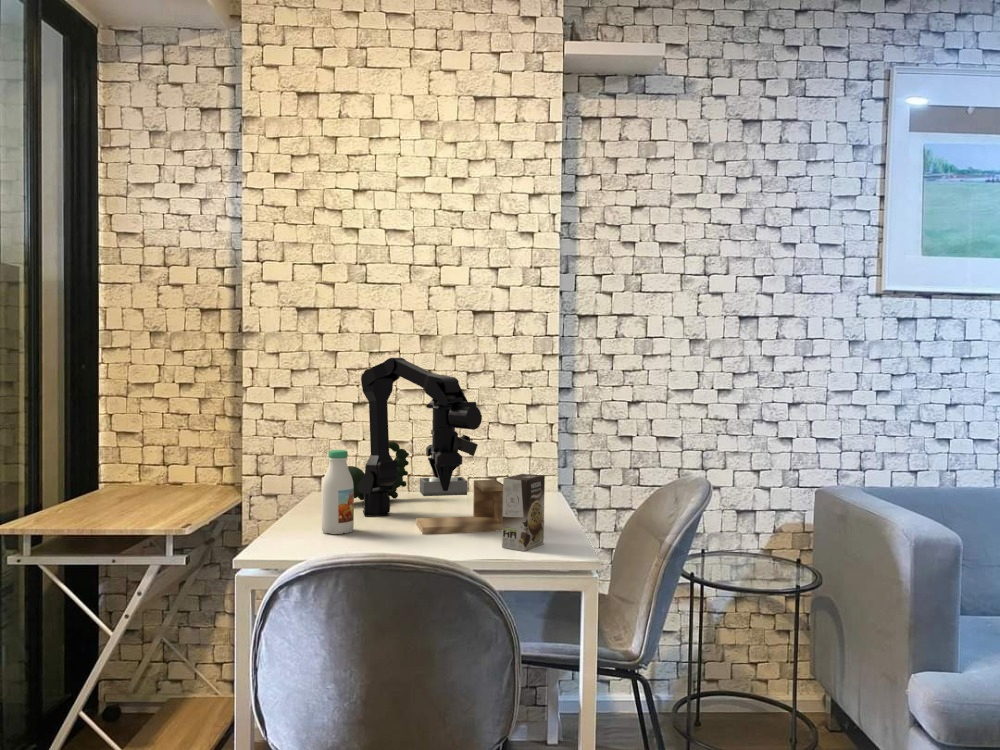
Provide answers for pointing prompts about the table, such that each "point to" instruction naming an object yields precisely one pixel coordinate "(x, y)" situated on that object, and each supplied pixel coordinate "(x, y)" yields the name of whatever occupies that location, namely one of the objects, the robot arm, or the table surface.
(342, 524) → the milk bottle
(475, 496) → the wooden l-shaped stand
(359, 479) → the toy figurine
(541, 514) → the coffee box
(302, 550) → the table surface
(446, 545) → the table surface
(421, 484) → the tray
